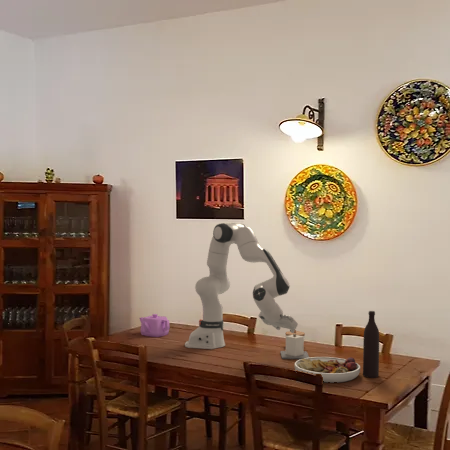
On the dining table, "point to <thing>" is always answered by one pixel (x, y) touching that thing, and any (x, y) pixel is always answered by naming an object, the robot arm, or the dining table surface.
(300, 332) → the lidded jar
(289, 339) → the white square canister
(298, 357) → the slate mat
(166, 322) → the teakettle
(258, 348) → the dining table surface
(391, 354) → the dining table surface
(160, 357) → the dining table surface
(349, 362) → the bowl
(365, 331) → the wine bottle
